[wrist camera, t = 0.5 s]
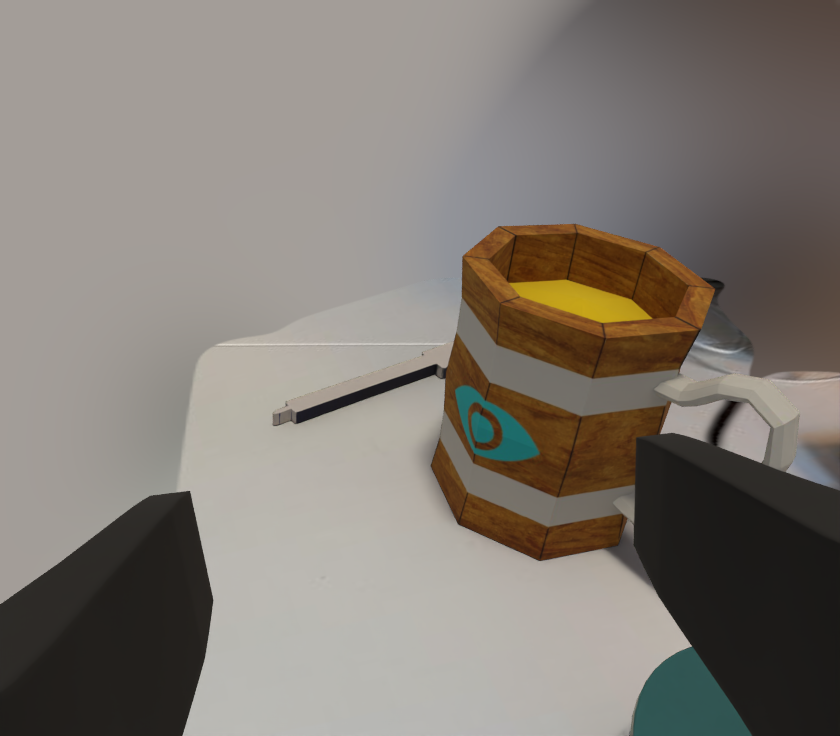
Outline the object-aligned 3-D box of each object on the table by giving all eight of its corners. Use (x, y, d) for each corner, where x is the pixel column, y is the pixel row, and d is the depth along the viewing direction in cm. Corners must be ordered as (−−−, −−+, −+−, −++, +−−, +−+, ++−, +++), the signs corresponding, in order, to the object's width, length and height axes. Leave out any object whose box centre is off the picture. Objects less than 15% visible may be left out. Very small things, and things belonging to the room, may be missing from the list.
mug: (388, 460, 46) (409, 249, 37) (527, 393, 54) (570, 207, 45) (637, 687, 34) (750, 454, 26) (768, 560, 42) (887, 349, 33)
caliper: (524, 374, 56) (483, 334, 60) (526, 363, 55) (485, 324, 60) (274, 428, 47) (248, 377, 52) (274, 415, 47) (248, 365, 51)
